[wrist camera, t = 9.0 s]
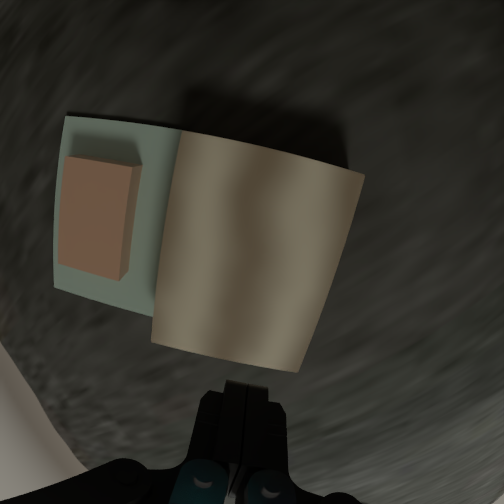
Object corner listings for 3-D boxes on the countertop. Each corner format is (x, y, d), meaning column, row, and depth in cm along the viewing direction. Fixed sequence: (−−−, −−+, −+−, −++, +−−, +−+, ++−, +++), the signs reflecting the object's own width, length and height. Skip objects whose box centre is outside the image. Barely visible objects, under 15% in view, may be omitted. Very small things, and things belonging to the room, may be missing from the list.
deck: (348, 169, 23) (365, 175, 20) (293, 344, 29) (297, 372, 25) (194, 132, 23) (182, 130, 19) (163, 316, 28) (151, 341, 24)
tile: (64, 156, 21) (78, 154, 23) (57, 263, 24) (70, 254, 26) (132, 167, 21) (142, 165, 23) (118, 281, 24) (128, 271, 26)
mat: (188, 131, 23) (186, 131, 22) (158, 315, 28) (156, 317, 28) (68, 116, 22) (65, 115, 22) (56, 285, 27) (54, 287, 27)
